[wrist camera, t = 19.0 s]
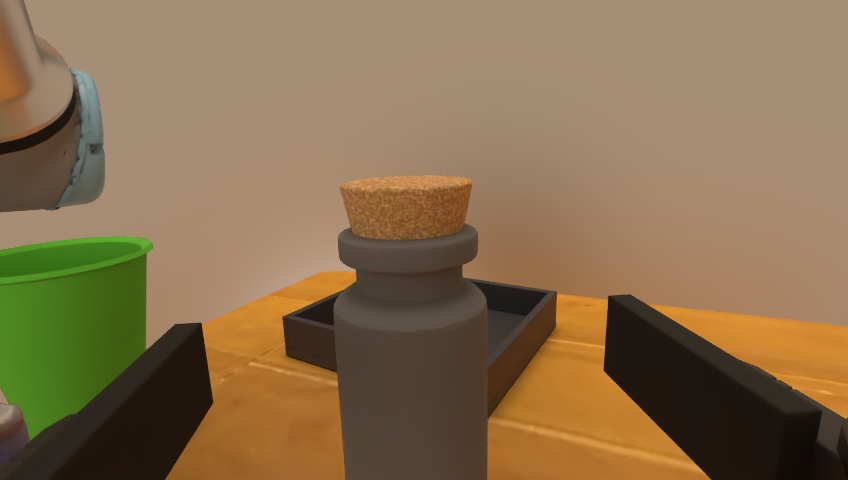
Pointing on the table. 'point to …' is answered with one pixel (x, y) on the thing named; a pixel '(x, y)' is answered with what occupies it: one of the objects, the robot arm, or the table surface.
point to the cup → (69, 322)
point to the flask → (11, 431)
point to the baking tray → (506, 332)
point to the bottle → (411, 333)
